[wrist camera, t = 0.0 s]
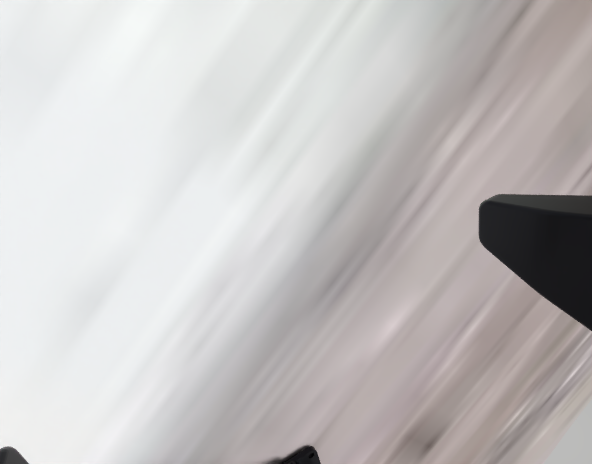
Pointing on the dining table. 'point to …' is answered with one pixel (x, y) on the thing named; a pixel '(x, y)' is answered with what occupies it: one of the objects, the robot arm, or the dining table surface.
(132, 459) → the dining table surface
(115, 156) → the dining table surface
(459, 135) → the dining table surface
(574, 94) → the dining table surface
